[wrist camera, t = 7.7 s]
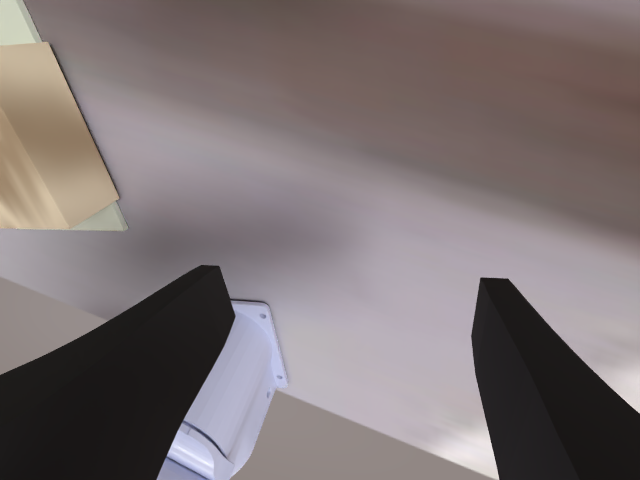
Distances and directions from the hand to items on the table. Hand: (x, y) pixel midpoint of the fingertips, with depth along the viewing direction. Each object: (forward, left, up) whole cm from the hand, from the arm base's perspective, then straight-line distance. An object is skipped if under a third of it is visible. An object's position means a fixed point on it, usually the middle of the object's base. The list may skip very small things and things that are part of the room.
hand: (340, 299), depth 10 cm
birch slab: (+3, +17, -8) cm, 19 cm away
